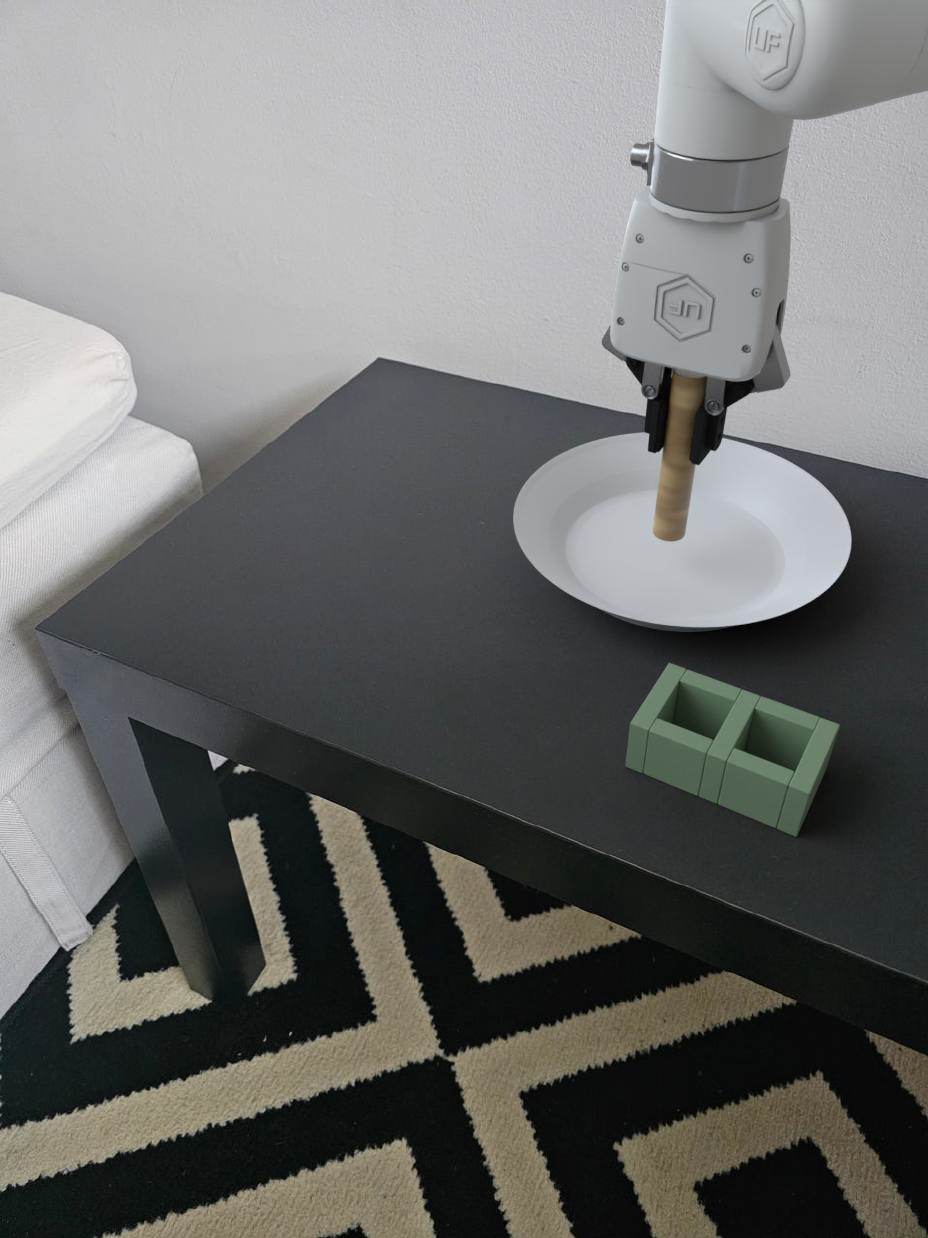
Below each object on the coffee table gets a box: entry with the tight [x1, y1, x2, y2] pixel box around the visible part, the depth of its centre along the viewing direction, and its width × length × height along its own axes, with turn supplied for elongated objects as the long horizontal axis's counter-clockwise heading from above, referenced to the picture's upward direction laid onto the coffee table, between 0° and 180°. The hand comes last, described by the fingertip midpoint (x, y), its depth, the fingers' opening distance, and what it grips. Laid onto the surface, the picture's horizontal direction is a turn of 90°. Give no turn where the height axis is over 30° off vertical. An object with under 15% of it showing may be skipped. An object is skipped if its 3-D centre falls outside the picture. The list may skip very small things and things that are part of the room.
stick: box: [653, 369, 707, 542], centre depth 70 cm, size 2×2×13 cm
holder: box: [625, 662, 841, 838], centre depth 61 cm, size 11×6×4 cm, turn 59°
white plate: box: [512, 431, 852, 633], centre depth 77 cm, size 25×25×4 cm
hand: (681, 447), depth 70 cm, fingers closed on stick, 2 cm apart
